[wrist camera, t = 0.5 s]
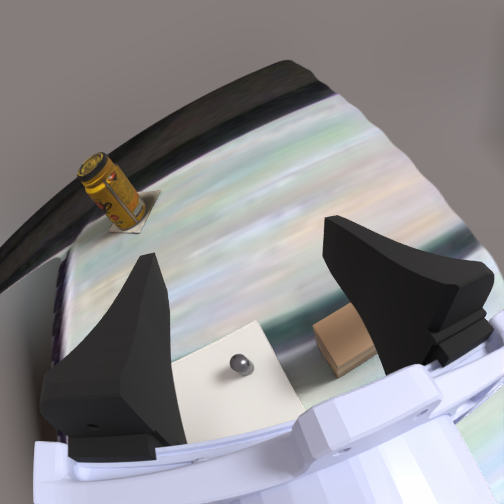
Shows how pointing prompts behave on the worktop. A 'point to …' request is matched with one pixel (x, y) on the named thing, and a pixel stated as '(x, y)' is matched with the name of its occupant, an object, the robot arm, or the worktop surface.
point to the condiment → (116, 194)
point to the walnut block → (344, 340)
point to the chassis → (233, 387)
